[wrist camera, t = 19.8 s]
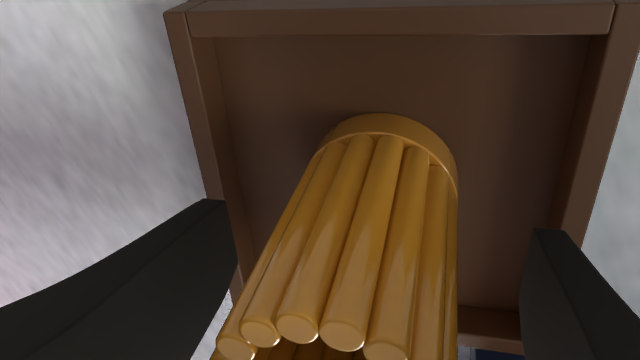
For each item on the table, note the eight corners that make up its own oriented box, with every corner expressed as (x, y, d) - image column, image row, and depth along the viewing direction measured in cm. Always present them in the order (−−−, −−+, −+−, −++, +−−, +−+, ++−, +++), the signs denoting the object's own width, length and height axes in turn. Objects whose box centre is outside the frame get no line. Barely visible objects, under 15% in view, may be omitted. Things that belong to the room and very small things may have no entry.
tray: (250, 280, 18) (233, 312, 16) (192, -3, 12) (160, 11, 11) (541, 318, 15) (548, 360, 14) (628, -15, 10) (654, 2, 8)
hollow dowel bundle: (471, 488, 8) (438, 313, 6) (252, 460, 9) (168, 312, 7) (466, 233, 14) (448, 101, 12) (331, 240, 15) (295, 123, 13)
